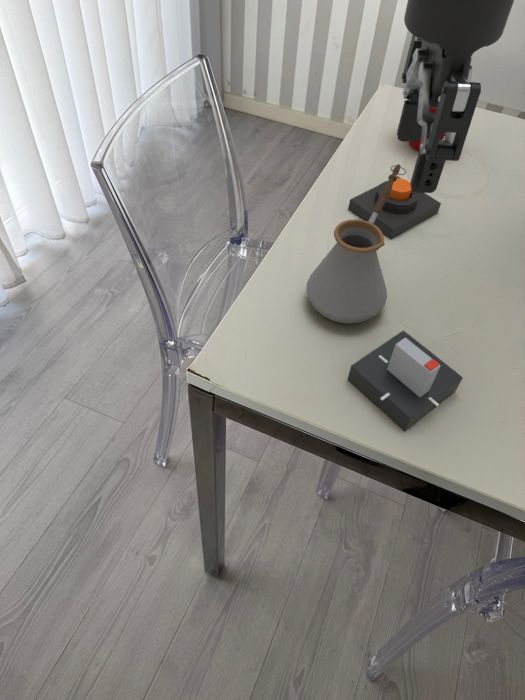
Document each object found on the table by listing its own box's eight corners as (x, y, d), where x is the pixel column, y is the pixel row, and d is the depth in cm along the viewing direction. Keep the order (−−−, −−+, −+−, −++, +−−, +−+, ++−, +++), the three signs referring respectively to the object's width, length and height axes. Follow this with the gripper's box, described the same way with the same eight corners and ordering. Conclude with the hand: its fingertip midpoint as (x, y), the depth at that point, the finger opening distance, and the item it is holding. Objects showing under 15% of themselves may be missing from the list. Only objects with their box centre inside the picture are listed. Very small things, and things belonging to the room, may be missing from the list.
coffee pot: (366, 345, 78) (390, 262, 66) (291, 315, 81) (301, 230, 69) (413, 256, 90) (440, 173, 79) (346, 233, 93) (363, 150, 82)
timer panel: (398, 344, 78) (403, 329, 76) (461, 395, 73) (469, 380, 71) (342, 382, 74) (346, 367, 71) (405, 440, 68) (411, 426, 66)
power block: (394, 186, 103) (399, 166, 100) (437, 213, 98) (444, 194, 95) (347, 210, 98) (351, 190, 94) (390, 240, 93) (396, 220, 90)
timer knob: (386, 369, 71) (395, 342, 67) (396, 362, 72) (405, 335, 68) (419, 398, 69) (431, 371, 65) (429, 390, 70) (441, 364, 66)
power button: (396, 184, 97) (399, 175, 95) (414, 195, 95) (417, 186, 94) (380, 192, 95) (382, 183, 94) (398, 203, 93) (401, 194, 92)
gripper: (554, 0, 36) (471, 212, 48) (497, -67, 45) (440, 126, 57) (436, -6, 36) (383, 208, 48) (403, -72, 45) (366, 122, 57)
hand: (414, 163), depth 53 cm, fingers open, 8 cm apart
